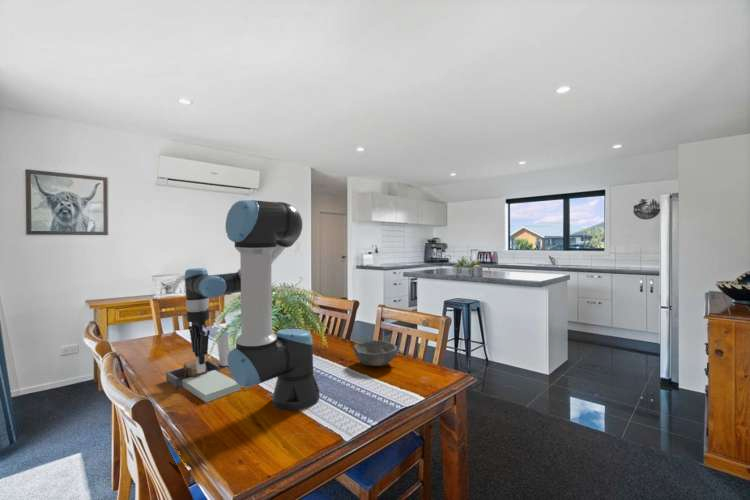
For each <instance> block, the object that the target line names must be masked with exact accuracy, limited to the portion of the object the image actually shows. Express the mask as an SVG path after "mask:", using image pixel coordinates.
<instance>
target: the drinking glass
mask: <svg viewBox="0 0 750 500" xmlns="http://www.w3.org/2000/svg"><path fill="white" fill-rule="evenodd" d="M221 329H222V328H219V329H217V330H216V336H217V335H218V333H219V332H220V331H221ZM228 335H229V333H228V331H227V332H225V334H224V335H222V336H221V337H220V338H219V339H218V340H217V339H216V347H217V352H218V359H219V366H220V367H229V366H228V354H229V352H230V349H229V345H228Z"/></svg>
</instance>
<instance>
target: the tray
mask: <svg viewBox="0 0 750 500" xmlns="http://www.w3.org/2000/svg"><path fill="white" fill-rule="evenodd" d="M205 365H206V366H207V372H209V371H213V370H216V371H218V372H220V373H221V365H220V364H219V365H218V364H216V363H214V362H212V361H211V360H209V359H208V360H205ZM182 371H183V367H180V368H177V369H173V370H170V371H166V372H165V376H166V377H165V378H166V380H165V381H166V382H167V383H168V384H169V385H171V386H172V387H174V388H175V389H179V388H183V387H182V380H183V379H187V378H190V377H191V376H188V377H185V376H184V374H183V372H182Z"/></svg>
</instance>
